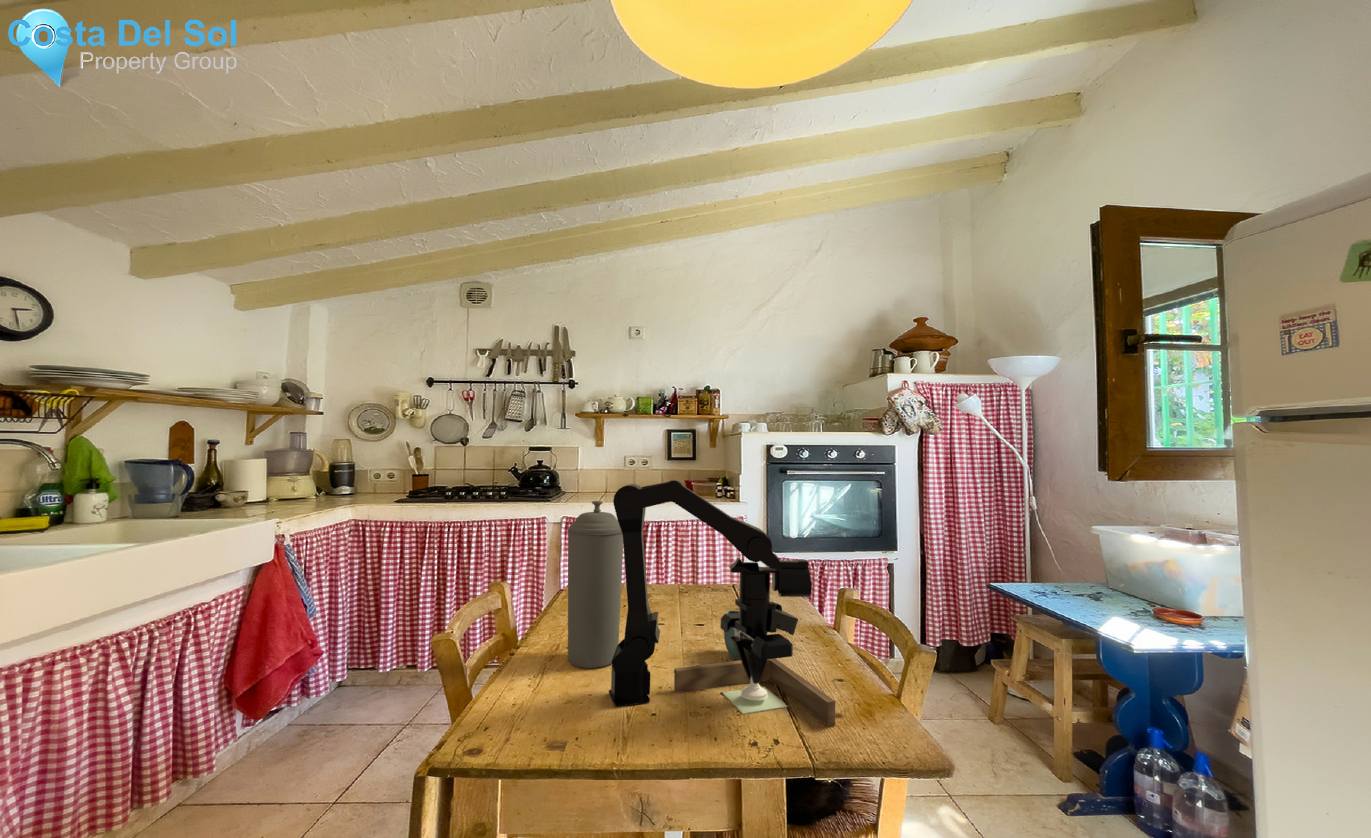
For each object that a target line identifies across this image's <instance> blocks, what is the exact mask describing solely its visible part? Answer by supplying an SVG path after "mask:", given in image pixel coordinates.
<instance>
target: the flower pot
mask: <svg viewBox="0 0 1371 838" xmlns="http://www.w3.org/2000/svg"><path fill="white" fill-rule="evenodd" d="M729 613H739V610H727V611H726V612H725V614H729ZM733 636H735V630H734V629H733V627H732V628H731V627H730V630H729V632H725V631H724V630H723V637H724V644H725V647H726V650H727V653H728V654H729V656H730V658H731V659H732V660H741V659H740V657H739V655H738V652H737V650H736V648H735V646H734V643H733V641H732V640H731V637H733Z"/></svg>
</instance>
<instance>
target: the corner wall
mask: <svg viewBox="0 0 1371 838" xmlns="http://www.w3.org/2000/svg"><path fill="white" fill-rule="evenodd" d="M673 671H674V678H673V679H674V680H673V683H674V684H673V686H674V687H673V690H674V691H675V692H676V693H677V694H678V693H684V692H685V693H686V692H691V691H699V690H705V689H706V690H707V689H713V688H720V687H728V686H735V685H742V684H750V679H749V678H748V677H747V674H746V672H745V669H744V667H743V664H742V662H741V659H738V660H733V661H732V660H731V661H724V662H723V661H722V662H716V663H707V664H701V665H699V664H698V665H691V666H684V667H683V666H682V667H674V670H673ZM764 681H771V682H772V683H773V684H774V685H775V686H776V687H777V688H779V689H780V690H782V692H784V693H785V694H787V696H789V697H790V698H791V699H793V700H794V701H795V702H796V703H797V704H799V705H800V706H801V707H802V708H804V709H805V710H806V711H807V712H809V714H812V716H813V717H815V718H816V719H817V720H818V721H820V722H821V723H822V724H824V725H825V726H827V728H828V727H834V726H836V700H834V699H833V698H832V697H830V696H829V695H827V694H826V693H825V692H823V691H822V690H820V688H817V686H815V685H813V684H812V683H810V681H808V680H806V679H805V678H804V677H803V676H800V675H799V674H797V672H795V671H794V670H792V669H791V668H789V666H787V665H786V664H784V663H783V662H781V661H780V660H779V659H778V658H775V659H767V662H766V664H765V667H764V670H763V673H762V676H761V679H760V682H764Z"/></svg>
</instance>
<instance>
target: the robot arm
mask: <svg viewBox="0 0 1371 838" xmlns="http://www.w3.org/2000/svg"><path fill="white" fill-rule="evenodd" d="M612 502H613V507H614V508H613V509H614V510H615V511H614V512H615V517H616V519H617V521H618V523H619V526H620V528H621V531H622V535H623V557H624V558H623V559H624V572H625V584H626V599H627V614H626V622H625V630H624V636H623V637H624V638H623V639H622V640H621V641H620V642H619V644H618V645H617V648H616V651H615V653H614V656H613V659H612V661H611V663H612V664H611V672H610V673H611V676H610V677H611V679H610V680H611V681H610V683H611V684H610V689H609V690H608V695H609V696H610V699H611V700H612V703H613V704H614V706H615V707H616V708H617V707H618V708H619V707H625V706H633V705H638V704H639V705H641V704H647V703H650V702H651V698H650V697H649V695H650V694H651V671H650V670H649V667H648V666H649V665H648V663H647V662H646V661H647V660H649V659H650V658H651V657H652V655H653V654H654V651H655V649H656V644H659V641H660V634H661V629H660V628H659V624H658V623H659V622H658V621H659V620H658V619H659V611H653V612H652V610H651V607H650V604H649V597H648V583H647V571H646V570H647V569H646V568H647V567H646V557H645V554H646V553H645V543H644V542H645V541H644V525H645V518H646V509H647V508H649V507H653V506H658V505H661V504H665V503H669V502H670V503H671V502H672V503H674V504H676V505H677V506H678V507H680V508H682V509H683V510H684V511H686V512H687V513H689V514H690V515H692V516H694V517H695V518H697V519H698V520H699V521H701V522H702V523H704V524H705V525H707V526H709V527H710V528H712V529H713V530H715V531H716V532H718V533H719V534H720V535H722V536H723V537H724V538H725V539H726V540H727V541H728V542H729V543H731V545H732V546H733V547H734V548H735V549H736V550H738V551H739V552H740V554H742V555H743V557H745V558H746V559H747V560H749V562H748V561H745V562H744V561H742V559H741V558H740V557H737V558H736V559H735V561H734V562H733V563H731V564H730V565H729V570H730V572H731V573H736V574H737V573H739V592H738V593H739V594H738V595H739V598H735V599H734V601H735V604H734V605H735V606H737V607H738V608H739V609H738V611H739V613H729V614H726V613H724V615H722V617H721V618H720V629H721V630H722V631H723V632H724V631H725V632H729V630H730V627H731V628H732V627H733V629H734V630H735V636H733V637H731V640H732V641H733V643H734V646H735V648H736V650H737V652H738V655H739V657H740V659H739V660H741V662H742V664H743V667H744V669H745V672H746V674H747V677H748V678H749V679H751V677H752V680H753V683H754V684H756V683H760V682H761V681H760V679H761V676H762V673H763V670H764V667H765V664H766V662H767V659H780V658H781V659H782V658H791V657H793V656H794V655H793V654H794V653H793V652H794V651H793V650H794V644H793V643H792V642H791V641H790V640H789V639H787V637H785V636H783V635H782V634H780V633H777V630H779V631H783V632H785V633H788V634H789V635H791V636H794V635H795V632H796V629H797V626H798V623H799V622H798V621H799V618H798V617H796V616H794V615H792V614H791V613H789V612H786V611H784V610H783V606H782V605H781V604H779V603H778V602H776V601H775V602H774V601H771V599H770V598H771V597H770V596H771V595H770V594H771V593H770V592H771V590H770V589H771V588H772V590H773V592H777V594H778V597H780V598H781V597H782V598H784V597H787V598H810V597H811V594H812V589H813V587H812V584H813V583H812V580H811V574H810V573H811V572H810V568H809V561H807V560H806V559H795V560H792V559H791V560H788V559H787V560H786V559H780V557H779V556H777V554H776V553H774V552H773V549H772V548H773V545H772V540H771V538H770V536H769V535H768V534H767V533H765V531H764V530H762V529H761V528H760V527H757V526H754V525H753V524H750V523H748V522H745V521H743V520H740V519H738V518H735V517H733V516H730V515H729V514H727V513H726V512H725V511H723V510H722V509H720V508H719V507H717V506H716V505H714V504H712V503H711V502H709V500H708V501H707V499H705V498H703V497H701V495H699V494H698V493H696V492H694V491H693V490H691V489H689V488H688V487H686V486H685V485H684V484H683V483H682V482H681V480H680V481H679V480H678V479H670V480H668V481H666V482H661V483H655V484H650V485H645V486H640V485H637V484H636V483H635V484H634V483H630V484H629V483H628V484H626V485H623V486H621V487H620V488H618V490H617V491H616V492H615V493H614V495H613V500H612ZM758 562H759V563H760V562H761V563H762V564H764V565H765V566H759V563H758ZM771 585H772V587H771ZM768 633H771V634H768ZM772 633H773V634H772Z"/></svg>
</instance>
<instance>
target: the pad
mask: <svg viewBox="0 0 1371 838" xmlns="http://www.w3.org/2000/svg"><path fill="white" fill-rule="evenodd" d="M761 687H762V688H764V689H766V691H767V695H768V697H767V698H766V699H764V700H748V699H745V698H744V697H742V695H741V693H742V689H736V690H731V691H723V692H722V695H723V696H724V697H725V698H726V699H727V700H728V701H729V702H730V703H731V704H732V705H733V706H734V707H735V708H736V709H737V710H738V711H739V712H740V713H741V714H742V715H747V714H754V713H759V712H760V713H761V712H766V711H772V710H780V709H785V708H788V707H789V705H786V703H785V702H783V701H782V700H781V699H780V698H779V697H778V696H777V695H776V694H774V693H773V692H772V691H770V690H769V689H768V688H767V687H766V686H761Z"/></svg>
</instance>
